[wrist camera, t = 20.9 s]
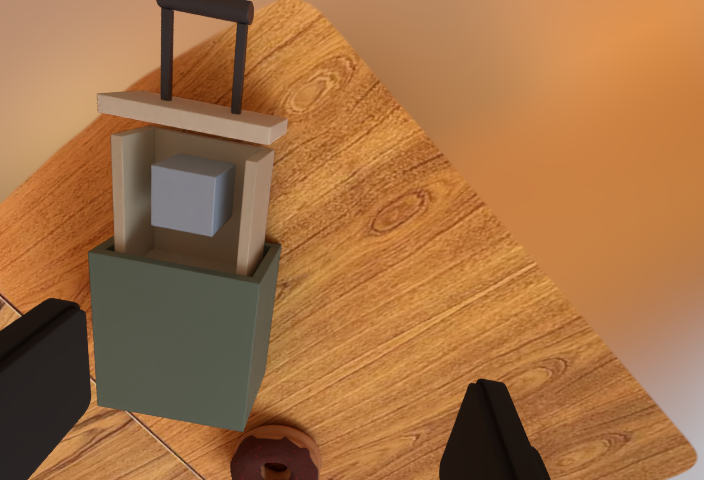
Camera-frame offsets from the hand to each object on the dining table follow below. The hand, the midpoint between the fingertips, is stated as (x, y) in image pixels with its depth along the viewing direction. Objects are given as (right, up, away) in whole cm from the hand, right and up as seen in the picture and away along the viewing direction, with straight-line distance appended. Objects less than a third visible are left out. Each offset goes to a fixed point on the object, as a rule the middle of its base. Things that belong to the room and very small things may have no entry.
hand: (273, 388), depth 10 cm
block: (-10, +8, +24) cm, 27 cm away
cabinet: (-12, -2, +30) cm, 32 cm away
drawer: (-9, +11, +23) cm, 28 cm away
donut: (-6, -20, +37) cm, 43 cm away
